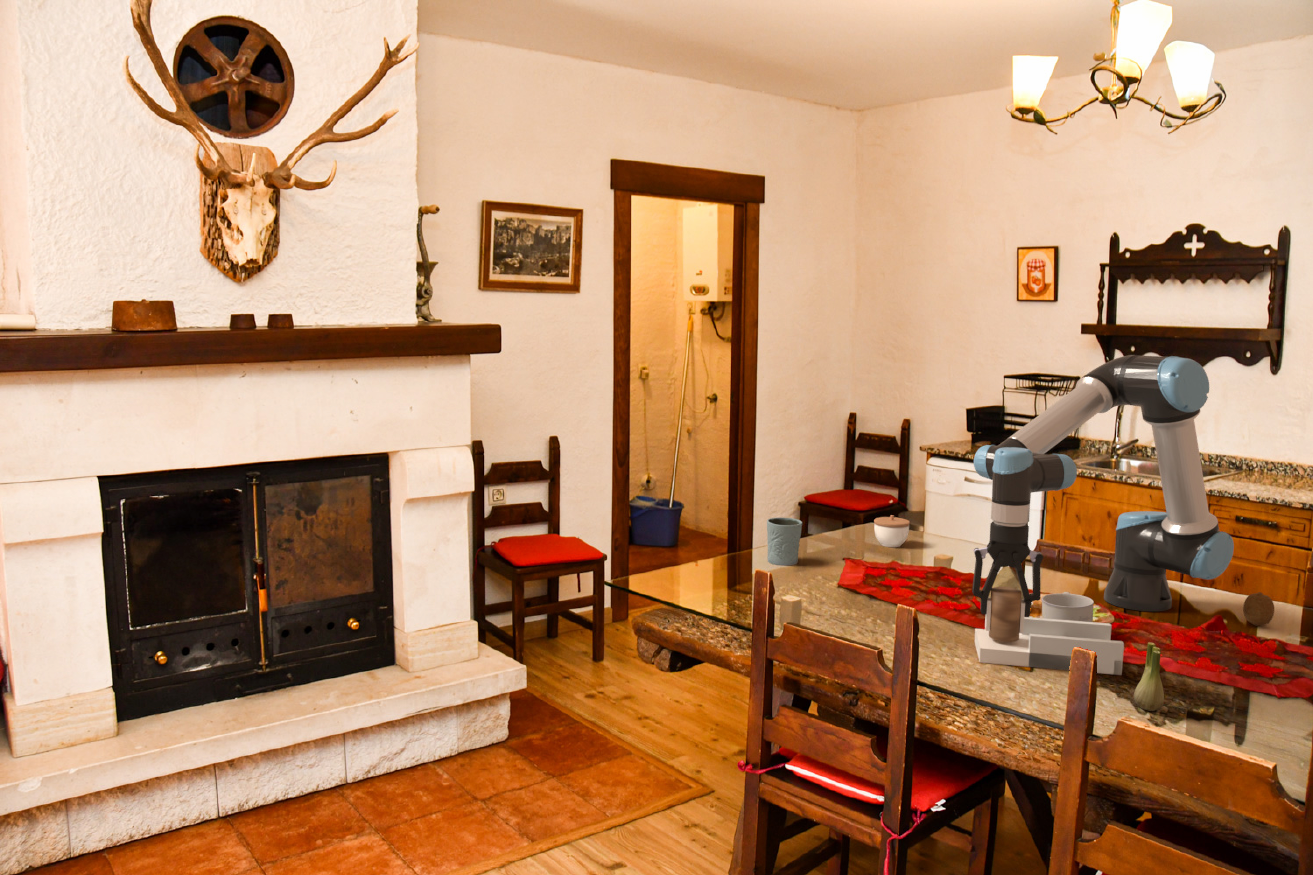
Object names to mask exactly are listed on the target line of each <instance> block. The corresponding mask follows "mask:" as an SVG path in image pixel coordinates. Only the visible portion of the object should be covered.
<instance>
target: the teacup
mask: <svg viewBox="0 0 1313 875" xmlns="http://www.w3.org/2000/svg"><path fill="white" fill-rule="evenodd" d="M1040 600H1041V615H1042V616H1041V618H1045V619H1058V620H1070V621H1083V622H1094V621H1093V620H1094V604H1095V602H1094V600H1093V599H1092V598H1090V597H1088V596H1086V595H1085V596H1084V595H1083V594H1082V595H1081V594H1076V593H1070V592H1069V591H1063V592H1062V593H1060V592H1059V593H1058V592H1055V593H1049V594H1045V595H1043V596H1042V597H1041V598H1040Z"/></svg>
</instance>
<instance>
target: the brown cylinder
mask: <svg viewBox="0 0 1313 875" xmlns="http://www.w3.org/2000/svg"><path fill="white" fill-rule="evenodd" d="M1021 593H1022V592H1021V591H1020V590H1018V589H1015V588H1010V587H994V588H992V589H991V618H990V631H989V637H990V638H992V639H995V640H998V641H1004V642H1014V641H1017V640H1019V630H1020V611H1021Z"/></svg>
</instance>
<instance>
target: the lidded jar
mask: <svg viewBox="0 0 1313 875" xmlns="http://www.w3.org/2000/svg"><path fill="white" fill-rule="evenodd" d="M910 523H911V522H910V520H908V519H905V518H901V517H896V516H895V515H892V514H890V516H880V517H876V518H875V519H874V520H873V524H874V527H873V528H874V536H875V538H876V541H878V542H879V543H880V546H882V547H886V548H900V547H902V545H903V544H904V543H905V542H906V541H907V539H908V537H909V531H910Z"/></svg>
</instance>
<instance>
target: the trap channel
mask: <svg viewBox="0 0 1313 875" xmlns="http://www.w3.org/2000/svg"><path fill="white" fill-rule="evenodd" d="M1111 636H1112V624H1111V623H1107V622H1106V623H1105V622H1095V621H1093V622H1083V621H1070V620H1058V619H1045V618H1043V617H1031V616H1029V617H1024V633H1023V634H1022V633H1019V640H1017V641H1014V642H1004V641H998V640H995V639H992V638H990V637H989V631H986V629H985V628H984V629H983V628H974V645H975V649H976V653H977V657H978V663H982V664H983V663H984V664H992V665H993V664H994V665H1004V666H1005V665H1006V666H1015V667H1016V666H1017V667H1026V668H1038V669H1051V670H1059V671H1060V670H1061V671H1070V670H1069V666H1070V660H1071V653H1072V650H1073V648H1074V647H1081V648H1083V649H1088V650H1091V651H1094V652H1096V655H1097V673H1096V674H1106V675H1117V676H1122V675H1123V674H1122V673H1123V663H1124V662H1123V661H1124V650H1125V649H1124V648H1125V643H1124V641H1122V640H1113V639H1112V640H1111Z"/></svg>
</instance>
